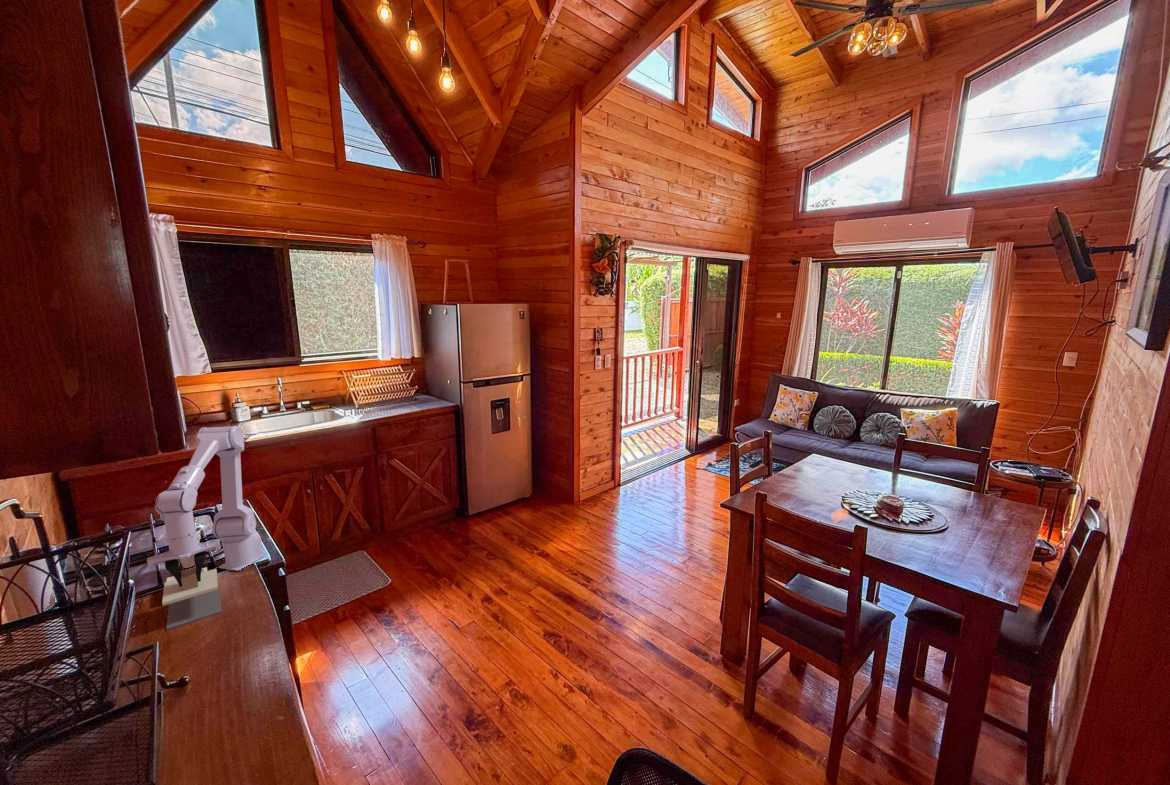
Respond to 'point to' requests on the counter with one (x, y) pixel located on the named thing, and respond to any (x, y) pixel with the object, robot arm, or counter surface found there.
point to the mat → (194, 609)
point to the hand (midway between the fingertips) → (190, 582)
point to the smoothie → (190, 558)
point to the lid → (189, 585)
